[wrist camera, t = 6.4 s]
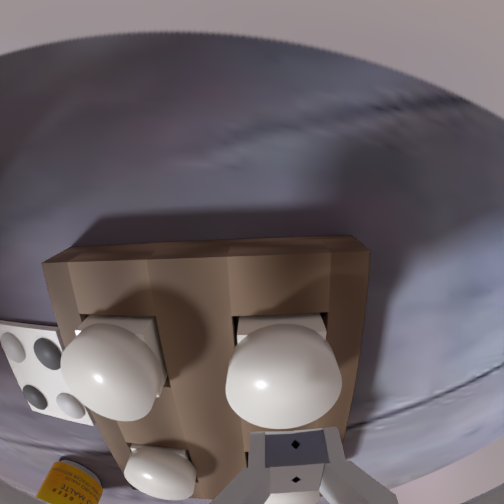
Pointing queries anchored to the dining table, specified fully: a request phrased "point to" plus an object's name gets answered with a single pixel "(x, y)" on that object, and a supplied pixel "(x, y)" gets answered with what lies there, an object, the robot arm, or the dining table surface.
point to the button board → (212, 329)
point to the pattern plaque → (41, 370)
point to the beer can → (70, 485)
